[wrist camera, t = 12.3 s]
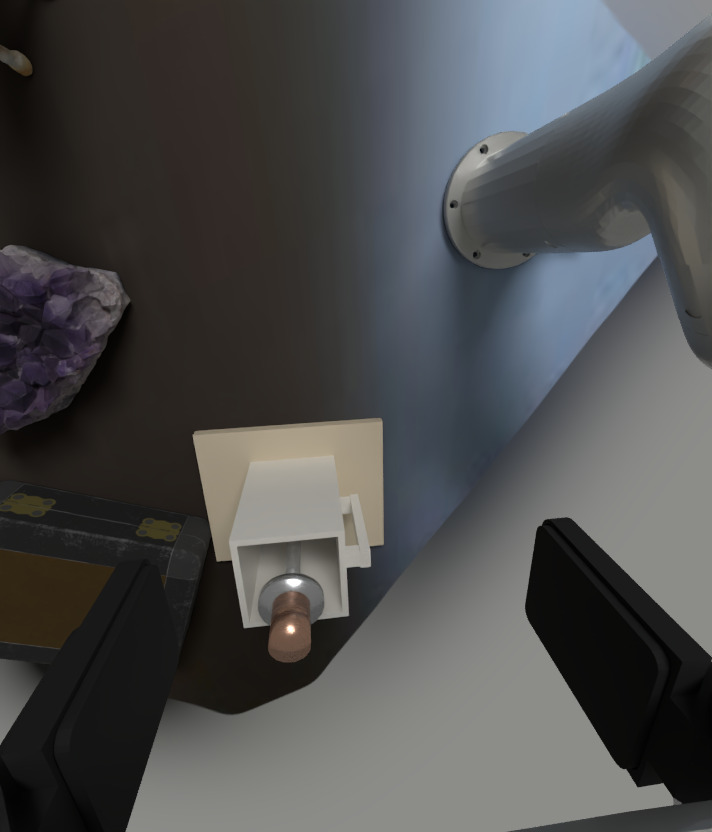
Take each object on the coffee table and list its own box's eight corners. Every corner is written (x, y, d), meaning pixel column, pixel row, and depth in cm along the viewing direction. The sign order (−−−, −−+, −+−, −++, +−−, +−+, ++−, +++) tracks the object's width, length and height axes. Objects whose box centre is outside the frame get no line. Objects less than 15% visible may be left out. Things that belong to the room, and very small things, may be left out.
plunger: (326, 467, 49) (339, 600, 30) (330, 523, 52) (344, 677, 33) (258, 472, 49) (228, 613, 30) (266, 529, 52) (242, 690, 32)
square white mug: (380, 417, 50) (411, 485, 36) (382, 539, 57) (408, 638, 42) (195, 431, 48) (146, 508, 33) (218, 555, 55) (186, 666, 40)
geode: (83, 444, 48) (13, 486, 38) (-15, 391, 46) (-114, 421, 36) (155, 290, 42) (93, 294, 32) (46, 222, 40) (-53, 206, 31)
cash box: (-10, 606, 54) (-58, 660, 47) (-3, 474, 48) (-58, 512, 41) (187, 633, 59) (170, 685, 52) (216, 517, 53) (202, 558, 46)
